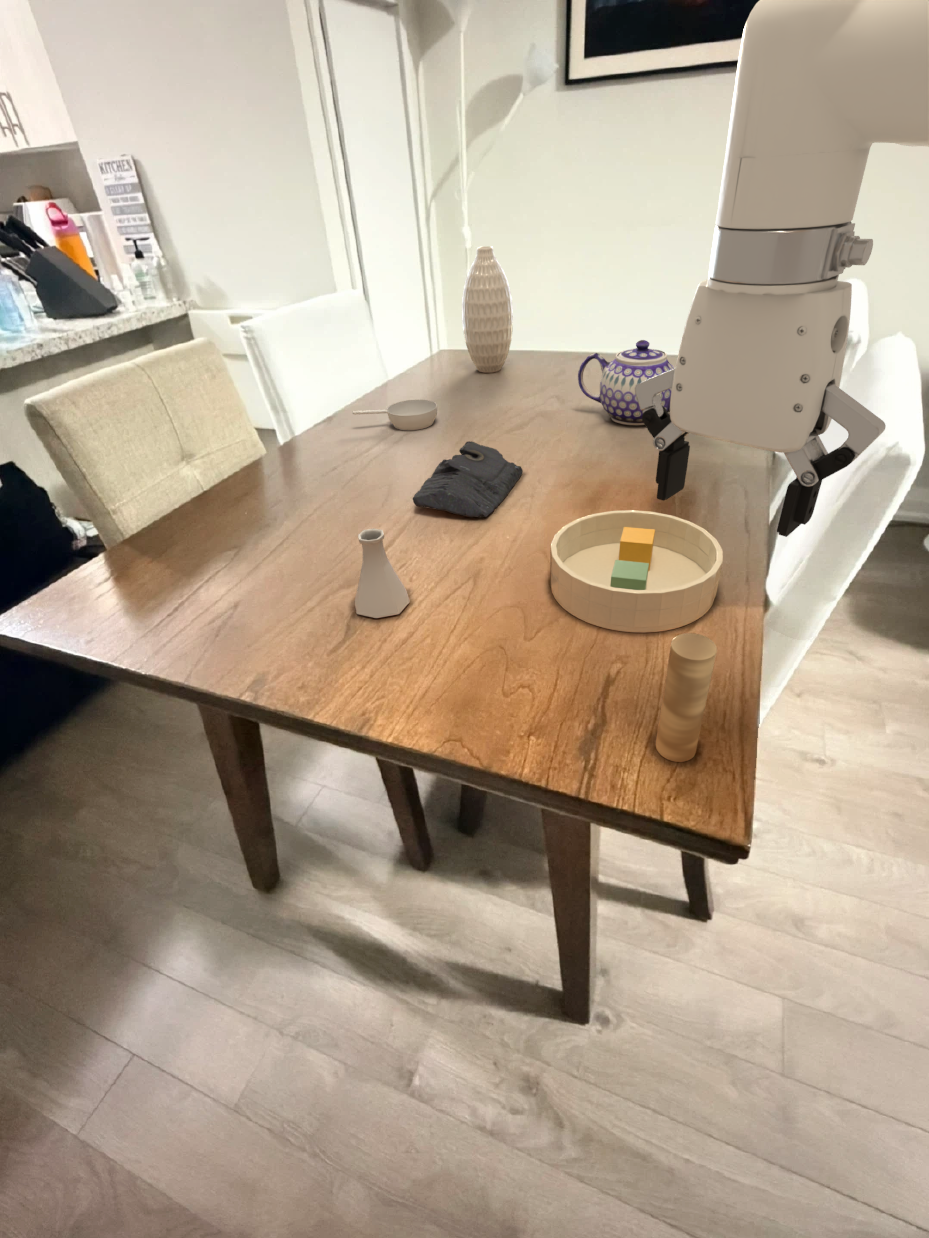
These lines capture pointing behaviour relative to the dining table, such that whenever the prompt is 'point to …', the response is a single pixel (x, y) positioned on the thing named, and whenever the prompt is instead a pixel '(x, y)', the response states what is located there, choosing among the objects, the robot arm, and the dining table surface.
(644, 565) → the sage block
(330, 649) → the dining table surface
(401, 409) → the small pan
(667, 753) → the beige marbled cylinder
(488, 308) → the vase
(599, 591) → the bowl
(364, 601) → the flask
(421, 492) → the dark slate chunk
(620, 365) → the teapot
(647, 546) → the mustard block
